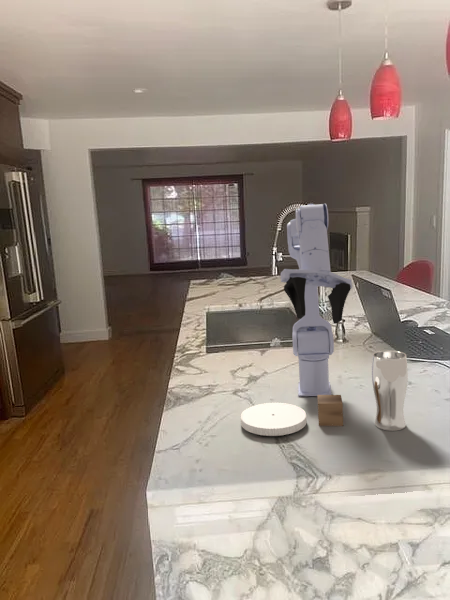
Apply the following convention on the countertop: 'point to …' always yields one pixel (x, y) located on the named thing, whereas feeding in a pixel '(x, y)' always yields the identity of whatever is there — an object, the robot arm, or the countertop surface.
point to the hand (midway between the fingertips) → (319, 319)
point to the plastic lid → (273, 419)
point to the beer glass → (389, 388)
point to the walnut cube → (330, 410)
